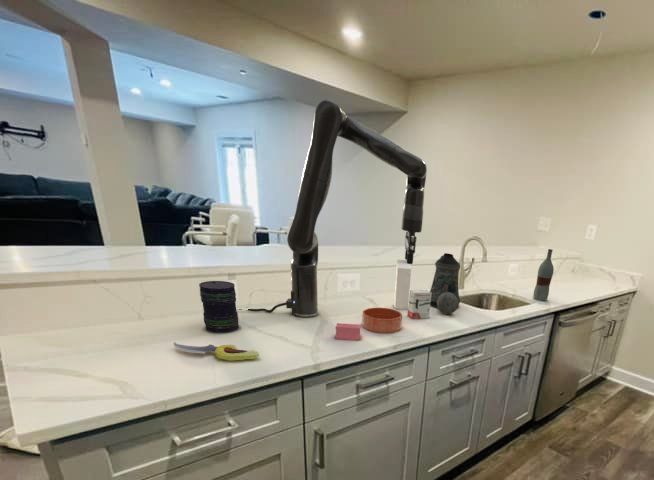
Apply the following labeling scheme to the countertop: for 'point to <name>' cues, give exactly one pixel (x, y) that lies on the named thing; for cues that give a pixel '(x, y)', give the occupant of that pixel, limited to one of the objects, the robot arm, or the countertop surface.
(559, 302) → the countertop surface
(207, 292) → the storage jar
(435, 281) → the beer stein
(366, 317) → the bowl
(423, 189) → the robot arm
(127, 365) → the countertop surface
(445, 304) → the decorative ball
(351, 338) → the eraser
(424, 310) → the ink box
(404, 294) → the milk
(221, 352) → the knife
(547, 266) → the bottle
